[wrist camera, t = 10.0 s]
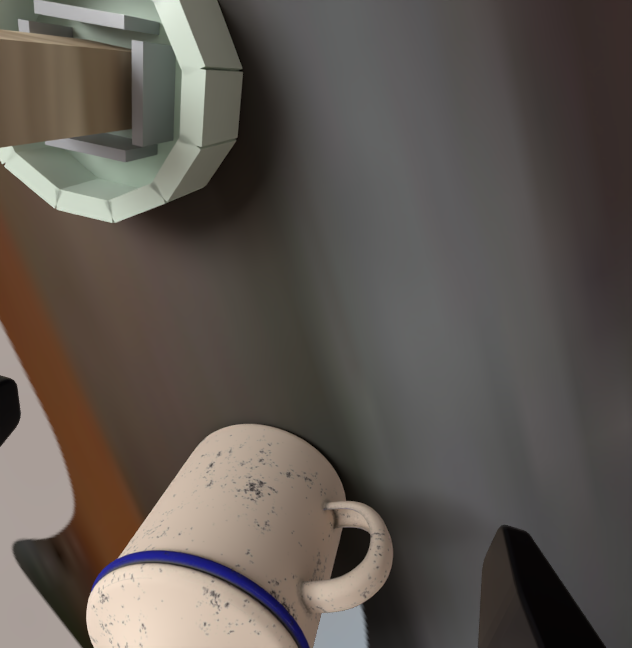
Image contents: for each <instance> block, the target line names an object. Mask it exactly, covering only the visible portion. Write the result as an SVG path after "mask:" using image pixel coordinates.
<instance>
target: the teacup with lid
mask: <svg viewBox="0 0 632 648" xmlns="http://www.w3.org/2000/svg"><path fill="white" fill-rule="evenodd" d="M347 527H351V528H360V529H363V530H365V531H367V532H369V533H370V535H371V540H370V546H369V550H368V553H367V555H366V557H365V558H364V560H363V561H362V562H361V563H360V564H359V565H358V566H357V567H356V568H354V569H353V570H352V571H350V572H349V573H347V574H345V575H343V576H340V577H338V578H334V579H330V577H331V573H332V569H333V565H334V561H335V557H336V553H337V549H338V545H339V541H340V537H341V533H342V529H343V528H347ZM392 561H393V546H392V541H391V537H390V534H389V532H388V529H387V527H386V525H385V523H384V521H383V520H382V518H381V517H380V515H379V514H378V513H377V512H376V511H375V510H374V509H372V508H371V507H370V506H368V505H366V504H363V503H360V502H355V501H346V497H345V492H344V489H343V485H342V483H341V481H340V478H339V476H338V475H337V473H336V471H335V470H334V468H333V467H332V465H331V464H330V463H329V462H328V460H327V459H326V458H325V457H324V456H323V455H322V454H321V453H320V452H319V451H318V450H317V449H315V448H314V447H313V446H312V445H310V444H309V443H308V442H306V441H304V440H303V439H301V438H299V437H297V436H296V435H294V434H292V433H289V432H287V431H284V430H281V429H279V428H275V427H271V426H266V425H260V424H238V425H232V426H228V427H225V428H222V429H220V430H217V431H215V432H213V433H212V434H210V435H209V436H207V437H206V438H205V439H204V440H203V441H202V442H200V443H199V445H198V446H197V447H196V448H195V450H194V451H193V453H192V454H191V456H190V457H189V458H188V460H187V461H186V463H185V464H184V465H183V467H182V468H181V470H180V471H179V473H178V474H177V475H176V477H175V478H174V480H173V481H172V483H171V484H170V485H169V487H168V488H167V490H166V491H165V492H164V494H163V495H162V497H161V498H160V500H159V501H158V502H157V504H156V505H155V507H154V508H153V509H152V511H151V512H150V514H149V515H148V517H147V518H146V519H145V521H144V522H143V524H142V525H141V527H140V528H139V529H138V531H137V532H136V534H135V535H134V536H133V538H132V539H131V541H130V542H129V544H128V545H127V546H126V548H125V549H124V551H123V552H122V554H121V555H120V556H119V558H118V559H116V560H115V561H113V562H111V563H110V564H109V565H107V566H106V567H105V568H104V569H103V570H102V571H101V573H100V574H99V575H98V577H97V578H96V580H95V582H94V584H93V587H92V590H91V594H90V597H89V600H88V605H87V617H86V620H87V628H88V632H89V636H90V639H91V642H92V644H93V646H94V648H313V646H314V641H315V637H316V633H317V629H318V625H319V621H320V617H321V613H330V612H337V611H343V610H347V609H350V608H354V607H356V606H358V605H360V604H362V603H363V602H365V601H367V600H368V599H369V598H371V597H372V596H373V595H374V594H375V593H376V592H378V591H379V589H380V588H381V587H382V586H383V584H384V583H385V581H386V580H387V578H388V576H389V573H390V570H391V567H392Z"/></svg>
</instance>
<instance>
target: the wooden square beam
mask: <svg viewBox="0 0 632 648" xmlns="http://www.w3.org/2000/svg"><path fill="white" fill-rule="evenodd" d="M128 129H132V49H128V48H124V47H119V46H115V45H110V44H106V43H101V42H97V41H92V40H87V39H78V38H70V37H61V36H53V35H44V34H36V33H27V32H19V31H11V30H2V29H0V148H2V147H9V146H16V145H23V144H30V143H37V142H44V141H51V140H58V139H65V138H72V137H79V136H86V135H93V134H100V133H107V132H114V131H121V130H128Z"/></svg>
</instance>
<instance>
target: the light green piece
mask: <svg viewBox="0 0 632 648" xmlns="http://www.w3.org/2000/svg"><path fill="white" fill-rule="evenodd" d="M0 29H2V30H11V31H19V32H27V33H36V34H44V35H53V36H61V37H70V38H78V39H87V40H92V41H97V42H101V43H106V44H110V45H115V46H119V47H124V48H128V49H132V129H128V130H121V131H114V132H107V133H100V134H93V135H86V136H79V137H72V138H65V139H58V140H51V141H44V142H37V143H30V144H23V145H16V146H9V147H2V148H0V161H1V163H2V164H5V163H6V164H5V166H4V167H6V168H7V169H8V170H9V171H10V172H12V173H13V174H14V175H15V176H16V177H17V178H19V179H20V180H21V181H22V182H23V183H25V184H26V185H27V186H28V187H29V188H31V189H32V190H33V191H34V192H35V193H37V194H38V195H39V196H40V197H41V198H43V199H44V200H45V201H46V202H47V203H49V204H50V205H51V206H52V207H53V208H57V210H60V211H65V212H69V213H73V214H77V215H81V216H85V217H89V218H94V219H98V220H102V221H106V222H110V223H113V222H115V223H116V222H118V221H121V220H124V219H126V218H129V217H131V216H134V215H137V214H139V213H142V212H145V211H147V210H150V209H152V208H155V207H158V206H160V205H163V204H165V203H168V202H170V201H173V200H175V199H177V198H180V197H182V196H185V195H187V194H189V193H192V192H194V191H196V190H199V189H201V188H204V186H206V185H207V183H208V182H209V180H210V179H211V178H212V176H213V175H214V173H215V172H216V170H217V169H218V167H219V166H220V164H221V163H222V161H223V160H224V158H225V157H226V155H227V154H228V152H229V151H230V149H231V148H232V147H233V145H234V144H235V142H236V141H237V140H236V139H235V138H238V127H239V115H240V103H241V91H242V79H243V72H241V71H239V70H241V69H243V68H242V66H241V63H240V60H239V58H238V55H237V52H236V49H235V47H234V44H233V41H232V39H231V36H230V33H229V31H228V28H227V25H226V23H225V20H224V17H223V15H222V12H221V9H220V7H219V4H218V1H217V0H0Z"/></svg>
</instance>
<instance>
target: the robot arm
mask: <svg viewBox="0 0 632 648" xmlns="http://www.w3.org/2000/svg"><path fill="white" fill-rule="evenodd" d="M20 415H21V412H20V404H19V396H18V389H17V384H16V383H15V381H14V380H12V379H11V378H7V377H4V376H0V446H1V445H2V444H3V443H4V442H5V440H6V439H7V438H8V437H9V435H10V434H11V433H12V432H13V431H14V429H15V428H16V426H17V425H18V423H19V420H20ZM478 648H606V646H605V645H604V643H603V642H602V641H601V639H600V638H599V636H598V635H597V633H596V632H595V630H594V629H593V627H592V626H591V624H590V623H589V621H588V620H587V618H586V617H585V615H584V614H583V612H582V611H581V610H580V608H579V607H578V605H577V604H576V602H575V601H574V599H573V598H572V596H571V595H570V593H569V592H568V590H567V589H566V587H565V586H564V584H563V583H562V581H561V580H560V579H559V577H558V576H557V574H556V573H555V571H554V570H553V568H552V567H551V565H550V564H549V562H548V561H547V559H546V558H545V556H544V555H543V553H542V552H541V550H540V549H539V547H538V546H537V545H536V543H535V542H534V540H533V539H532V537H531V536H530V534H529V533H527V532H526V531H524V530H521V529H518V528H514V527H511V526H508V525H502V526H500V527H499V529H498V530H497V532H496V534H495V537H494V539H493V541H492V543H491V545H490V548H489V550H488V552H487V554H486V556H485V559H484V563H483V569H482V583H481V601H480V620H479V639H478Z"/></svg>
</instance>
